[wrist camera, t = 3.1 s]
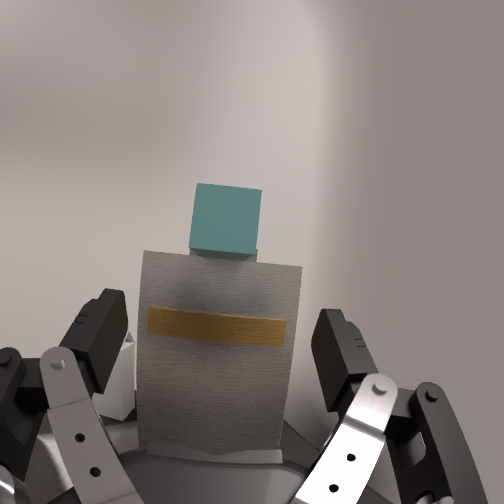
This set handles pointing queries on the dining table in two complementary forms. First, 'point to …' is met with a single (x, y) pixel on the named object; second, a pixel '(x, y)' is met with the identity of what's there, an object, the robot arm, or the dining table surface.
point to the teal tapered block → (225, 222)
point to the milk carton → (119, 385)
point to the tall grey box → (214, 351)
